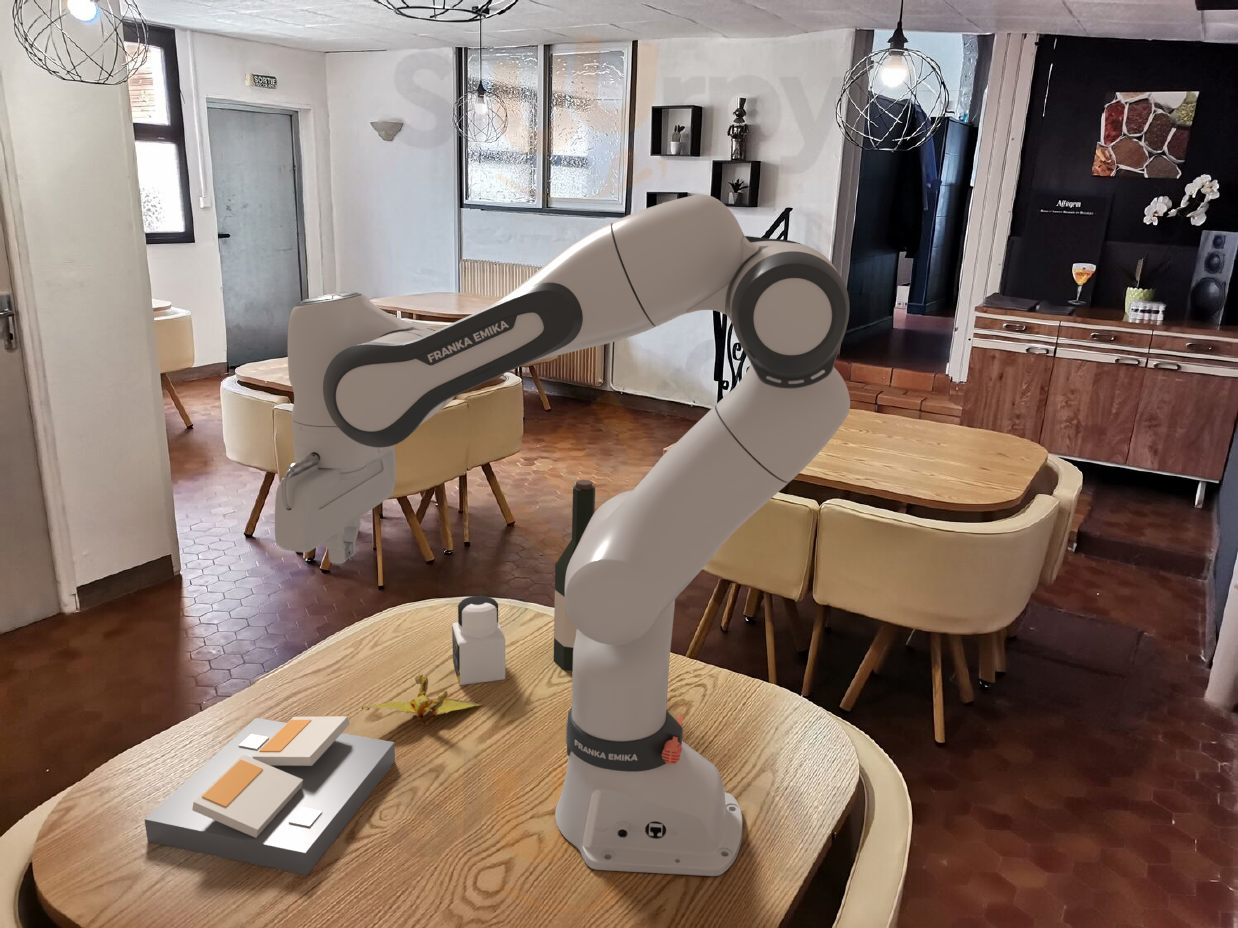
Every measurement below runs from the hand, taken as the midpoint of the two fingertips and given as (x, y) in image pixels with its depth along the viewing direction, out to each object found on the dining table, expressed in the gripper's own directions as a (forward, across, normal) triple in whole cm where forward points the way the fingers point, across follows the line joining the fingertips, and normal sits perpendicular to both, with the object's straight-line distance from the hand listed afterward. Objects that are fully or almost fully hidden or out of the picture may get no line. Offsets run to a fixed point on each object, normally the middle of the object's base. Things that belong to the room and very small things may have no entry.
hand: (342, 558), depth 103 cm
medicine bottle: (+31, +31, -4) cm, 44 cm away
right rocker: (+26, +2, +8) cm, 28 cm away
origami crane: (+31, +17, -1) cm, 36 cm away
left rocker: (+26, -10, +8) cm, 29 cm away
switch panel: (+31, -4, +8) cm, 32 cm away
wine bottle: (+31, +39, -18) cm, 53 cm away
